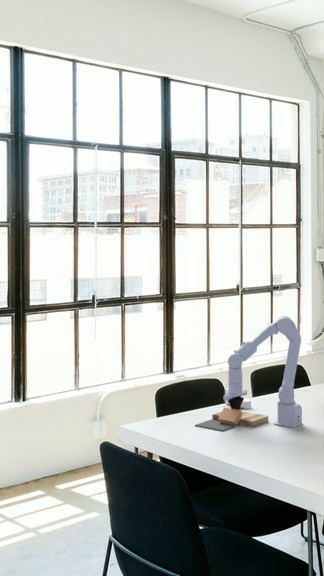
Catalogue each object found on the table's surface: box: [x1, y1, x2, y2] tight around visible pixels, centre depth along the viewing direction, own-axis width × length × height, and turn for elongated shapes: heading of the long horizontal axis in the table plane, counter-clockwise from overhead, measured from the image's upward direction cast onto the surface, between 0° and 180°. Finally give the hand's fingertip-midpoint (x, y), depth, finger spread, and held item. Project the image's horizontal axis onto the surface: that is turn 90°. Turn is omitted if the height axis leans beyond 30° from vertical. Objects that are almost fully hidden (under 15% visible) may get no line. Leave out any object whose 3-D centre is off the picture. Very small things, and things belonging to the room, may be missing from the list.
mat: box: [194, 419, 241, 432], centre depth 277 cm, size 14×12×1 cm
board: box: [211, 411, 269, 428], centre depth 284 cm, size 20×12×2 cm, turn 50°
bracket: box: [224, 387, 252, 410], centre depth 313 cm, size 13×7×8 cm, turn 19°
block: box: [218, 407, 243, 425], centre depth 278 cm, size 8×6×2 cm
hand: (235, 414), depth 281 cm, fingers closed
